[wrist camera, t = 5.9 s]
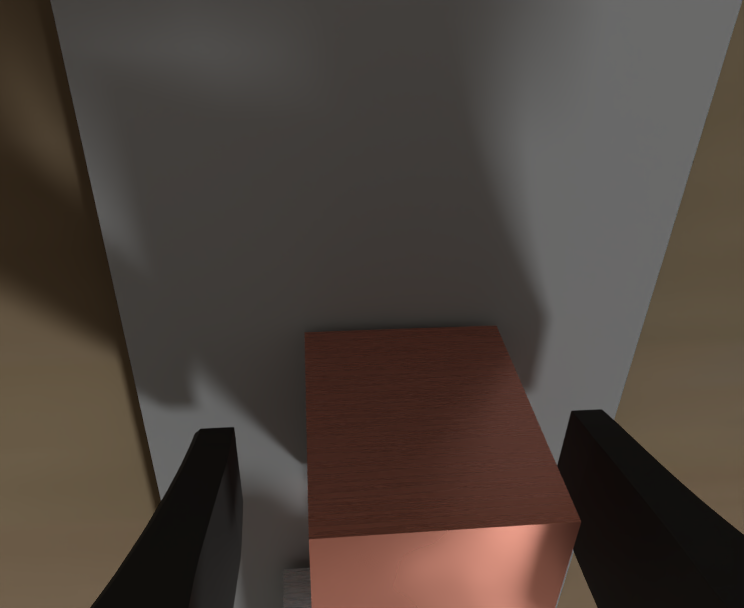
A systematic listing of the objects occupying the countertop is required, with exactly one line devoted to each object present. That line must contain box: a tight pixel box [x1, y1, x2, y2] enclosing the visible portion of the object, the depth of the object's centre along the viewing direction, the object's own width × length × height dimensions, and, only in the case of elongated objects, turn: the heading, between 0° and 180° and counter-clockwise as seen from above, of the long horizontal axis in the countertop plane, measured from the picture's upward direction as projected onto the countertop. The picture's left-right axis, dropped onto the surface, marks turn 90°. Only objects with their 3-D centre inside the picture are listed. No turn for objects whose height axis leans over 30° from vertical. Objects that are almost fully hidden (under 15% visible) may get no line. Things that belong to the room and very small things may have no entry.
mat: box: [50, 0, 742, 608], centre depth 14 cm, size 17×10×1 cm, turn 178°
